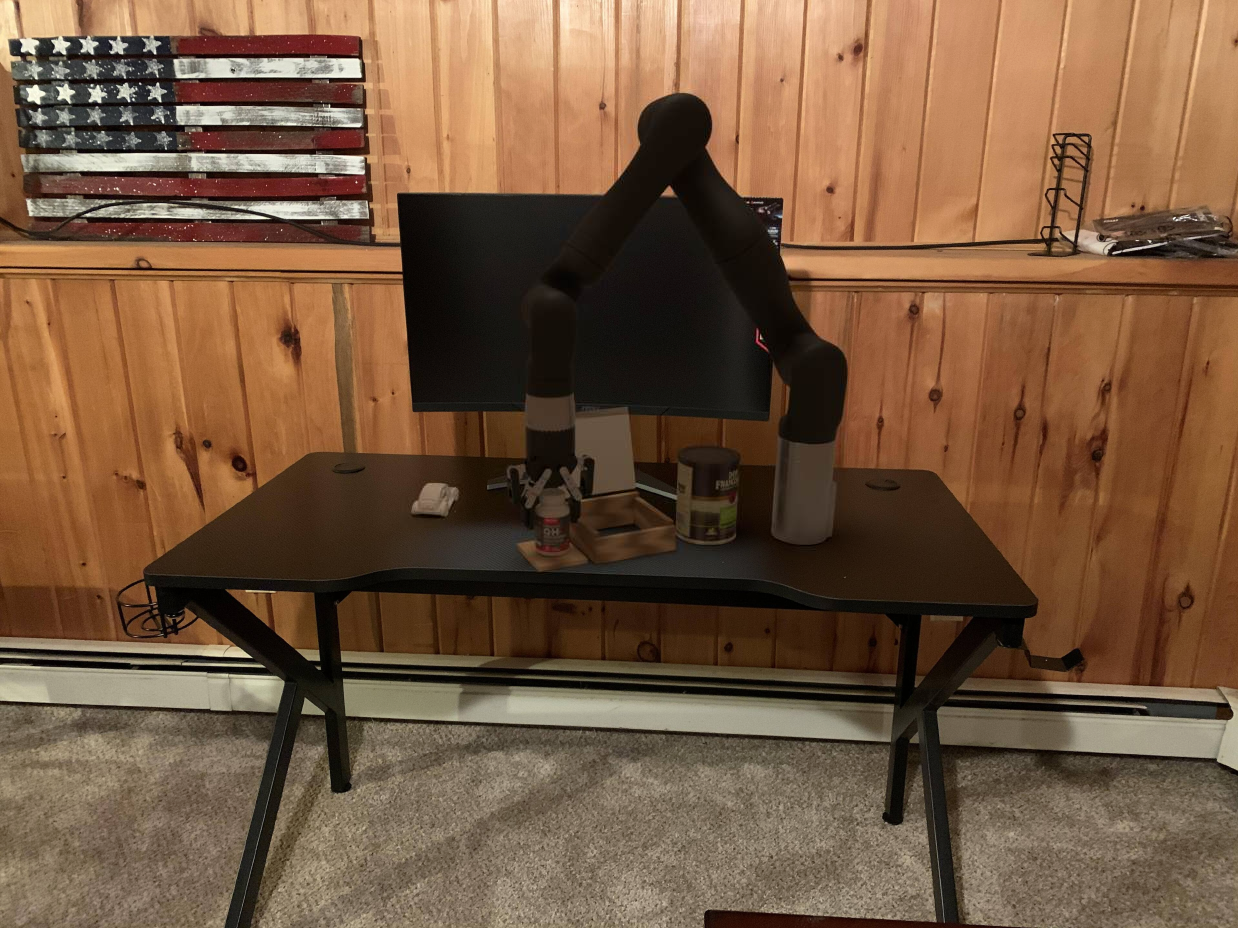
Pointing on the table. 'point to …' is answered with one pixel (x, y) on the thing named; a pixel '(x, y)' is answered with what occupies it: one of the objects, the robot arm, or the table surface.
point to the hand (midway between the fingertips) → (551, 524)
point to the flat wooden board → (551, 557)
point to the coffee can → (707, 494)
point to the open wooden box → (618, 512)
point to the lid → (605, 449)
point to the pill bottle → (552, 523)
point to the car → (435, 499)
